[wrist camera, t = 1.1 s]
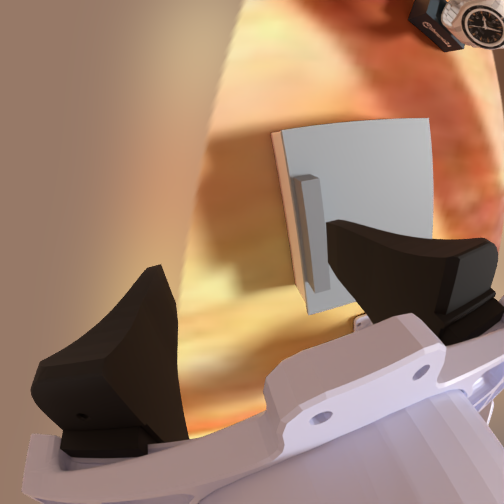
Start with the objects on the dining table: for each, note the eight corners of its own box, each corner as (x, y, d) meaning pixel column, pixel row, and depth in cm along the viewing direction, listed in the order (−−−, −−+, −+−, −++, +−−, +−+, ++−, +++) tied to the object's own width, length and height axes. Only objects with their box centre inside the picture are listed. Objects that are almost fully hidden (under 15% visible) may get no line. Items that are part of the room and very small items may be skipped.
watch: (403, 31, 19) (483, 8, 9) (418, -12, 16) (486, -38, 6) (441, 65, 20) (521, 58, 10) (453, 19, 18) (522, 6, 8)
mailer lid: (425, 274, 24) (439, 285, 22) (306, 311, 24) (315, 328, 22) (424, 118, 18) (443, 118, 16) (279, 130, 18) (289, 129, 16)
